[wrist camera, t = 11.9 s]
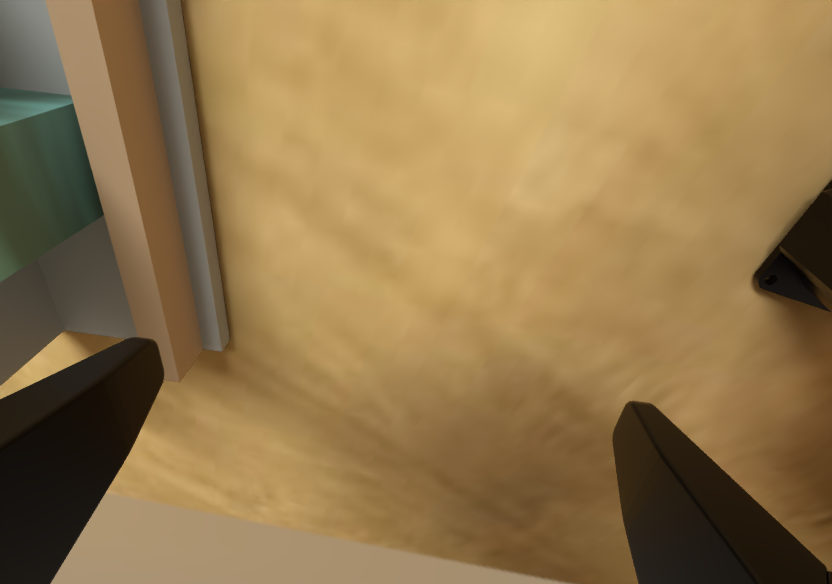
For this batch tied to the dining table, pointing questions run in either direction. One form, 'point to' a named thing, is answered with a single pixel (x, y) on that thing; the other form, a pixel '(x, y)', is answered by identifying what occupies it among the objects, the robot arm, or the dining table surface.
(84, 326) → the grey bookend
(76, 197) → the teal block
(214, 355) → the dining table surface
